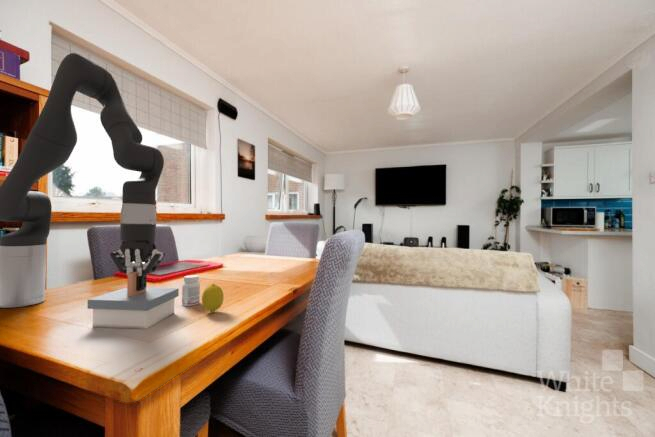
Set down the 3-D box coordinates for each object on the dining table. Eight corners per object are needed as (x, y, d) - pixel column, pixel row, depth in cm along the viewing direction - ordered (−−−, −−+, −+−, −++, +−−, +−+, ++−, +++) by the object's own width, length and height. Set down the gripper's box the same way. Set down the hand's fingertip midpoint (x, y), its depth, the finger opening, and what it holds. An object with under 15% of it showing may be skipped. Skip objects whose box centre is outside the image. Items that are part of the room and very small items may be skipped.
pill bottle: (202, 302, 86) (203, 275, 86) (193, 306, 82) (194, 278, 82) (188, 301, 87) (188, 274, 87) (178, 305, 82) (179, 277, 82)
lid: (87, 308, 65) (88, 276, 65) (128, 294, 77) (128, 267, 77) (147, 310, 64) (147, 277, 64) (178, 296, 76) (179, 268, 76)
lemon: (214, 308, 81) (215, 280, 81) (227, 311, 78) (228, 283, 78) (197, 313, 76) (197, 284, 76) (210, 317, 73) (210, 287, 73)
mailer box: (92, 326, 65) (93, 301, 65) (128, 311, 76) (128, 289, 76) (145, 328, 65) (146, 303, 65) (174, 313, 76) (174, 291, 76)
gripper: (100, 221, 67) (98, 293, 67) (154, 222, 67) (153, 294, 66) (124, 221, 75) (123, 285, 75) (173, 222, 74) (171, 287, 74)
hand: (137, 289), depth 71 cm, fingers closed on lid, 1 cm apart
